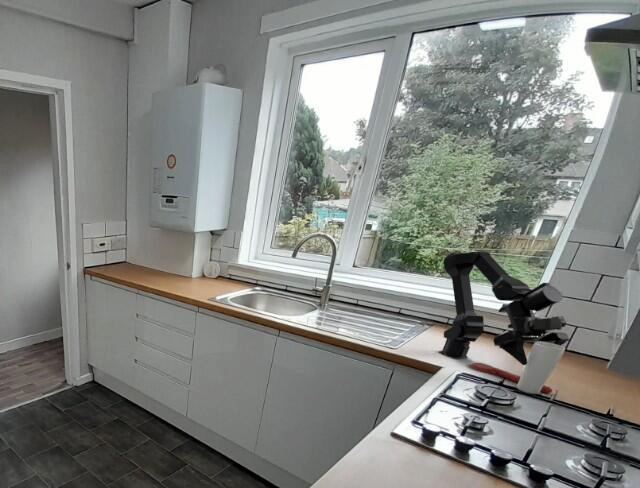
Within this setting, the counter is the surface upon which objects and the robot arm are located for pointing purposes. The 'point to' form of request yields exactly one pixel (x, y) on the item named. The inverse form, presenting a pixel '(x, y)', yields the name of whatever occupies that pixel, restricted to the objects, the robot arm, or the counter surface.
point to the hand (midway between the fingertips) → (539, 365)
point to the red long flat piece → (503, 374)
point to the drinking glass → (539, 366)
